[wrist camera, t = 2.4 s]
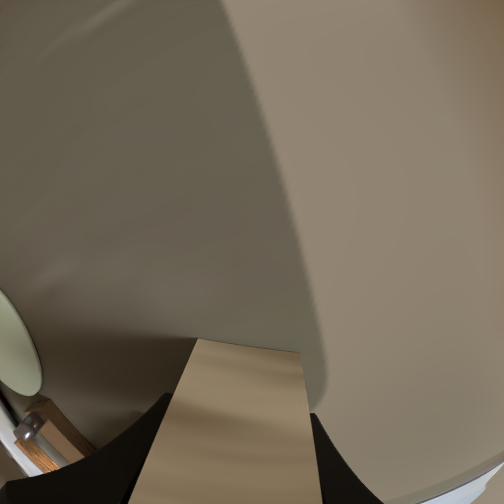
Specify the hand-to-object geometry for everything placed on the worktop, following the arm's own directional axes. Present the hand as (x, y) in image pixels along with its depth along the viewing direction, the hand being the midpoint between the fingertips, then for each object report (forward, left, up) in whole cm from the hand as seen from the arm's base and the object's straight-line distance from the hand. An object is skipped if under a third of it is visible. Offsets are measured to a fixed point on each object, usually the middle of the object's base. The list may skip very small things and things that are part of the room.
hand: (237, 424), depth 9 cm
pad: (-5, +15, -2) cm, 16 cm away
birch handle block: (0, 0, -2) cm, 2 cm away
